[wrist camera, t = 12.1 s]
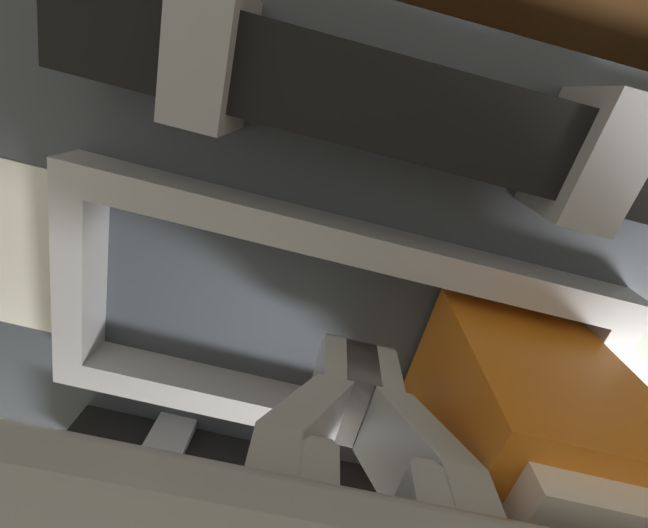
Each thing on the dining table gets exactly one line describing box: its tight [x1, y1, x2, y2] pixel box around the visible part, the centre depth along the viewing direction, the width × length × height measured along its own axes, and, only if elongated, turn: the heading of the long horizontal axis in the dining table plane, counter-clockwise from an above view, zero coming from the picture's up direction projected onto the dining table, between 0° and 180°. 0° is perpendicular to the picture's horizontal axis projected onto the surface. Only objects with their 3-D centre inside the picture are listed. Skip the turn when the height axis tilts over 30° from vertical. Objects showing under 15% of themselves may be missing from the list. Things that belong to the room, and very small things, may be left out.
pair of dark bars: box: [37, 0, 648, 492], centre depth 11 cm, size 14×15×2 cm
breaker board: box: [0, 0, 648, 465], centre depth 12 cm, size 20×16×3 cm
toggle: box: [404, 288, 648, 528], centre depth 9 cm, size 4×4×6 cm
